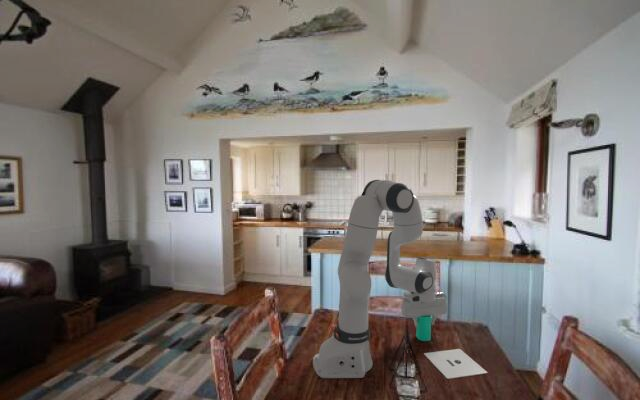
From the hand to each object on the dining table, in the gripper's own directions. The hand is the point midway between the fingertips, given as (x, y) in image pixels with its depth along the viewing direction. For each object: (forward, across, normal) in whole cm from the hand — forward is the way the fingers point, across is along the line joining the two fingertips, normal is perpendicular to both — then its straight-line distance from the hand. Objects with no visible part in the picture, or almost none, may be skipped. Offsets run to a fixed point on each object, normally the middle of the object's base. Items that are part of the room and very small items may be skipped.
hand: (424, 324), depth 138 cm
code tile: (+6, -1, +20) cm, 21 cm away
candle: (+6, 0, 0) cm, 6 cm away
